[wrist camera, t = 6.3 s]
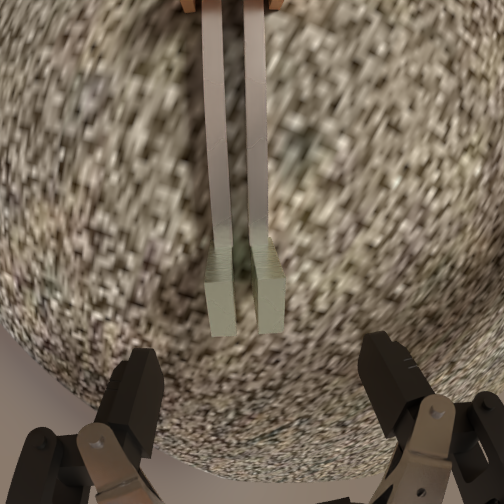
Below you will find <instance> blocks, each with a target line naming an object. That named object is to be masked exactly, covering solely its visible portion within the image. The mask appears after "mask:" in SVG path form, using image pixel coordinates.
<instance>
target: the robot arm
mask: <svg viewBox="0 0 504 504" xmlns="http://www.w3.org/2000/svg"><path fill="white" fill-rule="evenodd" d="M358 373H359V376H360V379H361V381H362V383H363V386H364V388H365V390H366V393H367V395H368V397H369V399H370V402H371V404H372V406H373V409H374V411H375V414H376V416H377V418H378V421H379V423H380V426H381V428H382V430H383V433H384V435H385V438H386V439H387V438H391V437H394V436H396V438H397V440H398V442H397V443H396V446H395V448H394V451H393V454H392V456H391V459H390V462H389V464H388V467H387V469H386V471H385V474H384V476H383V478H382V481H381V483H380V485H379V486H378V488H377V490H376V491H375V493H374V494H373V496H372V498H371V500H370V502H369V504H442V502H443V498H444V495H445V492H446V488H447V484H448V481H449V477H450V473H451V470H452V472H453V475H454V477H455V480H456V483H457V485H458V488H459V491H460V494H461V497H462V500H463V502H464V504H504V405H503V403H502V402H501V400H500V399H499V397H498V396H497V395H495V394H494V393H492V392H488V391H483V392H480V393H478V394H477V395H476V396H475V398H474V399H473V401H472V402H464V403H453V402H452V401H451V400H450V399H449V398H447V397H446V396H443V395H440V394H435V393H434V391H433V389H432V388H431V386H430V384H429V383H428V381H427V380H426V378H425V376H424V375H423V373H422V372H421V370H420V369H419V367H417V364H416V362H415V361H414V359H412V356H411V355H410V353H409V352H408V350H407V349H406V348H405V347H404V346H402V345H401V344H400V343H398V342H397V341H395V342H392V341H391V340H390V338H389V336H388V335H387V333H386V332H385V331H379V332H373V333H367V334H365V335H364V338H363V343H362V347H361V351H360V355H359V359H358ZM106 389H107V390H105V393H104V396H103V398H102V401H101V404H100V406H99V409H98V412H97V415H96V418H95V420H94V422H93V423H91V424H88V425H86V426H84V427H83V428H82V429H81V430H80V431H79V433H78V434H75V435H64V436H56V435H55V434H54V433H53V431H52V430H50V429H49V428H46V427H38V428H36V429H34V430H32V431H31V432H30V433H29V434H28V436H27V438H26V440H25V443H24V446H23V448H22V451H21V454H20V457H19V460H18V463H17V466H16V469H15V472H14V475H13V478H12V482H11V485H10V489H9V492H8V496H7V500H6V504H88V499H89V493H90V487H91V486H93V485H95V487H96V490H97V492H98V494H96V496H95V497H96V500H97V503H98V504H165V503H164V501H163V500H162V499H161V497H160V496H159V494H158V493H157V492H156V490H155V489H154V487H153V486H152V484H151V483H150V481H149V480H148V478H147V477H146V475H145V474H144V472H143V471H142V469H141V468H140V461H141V458H150V459H151V454H152V449H153V443H154V438H155V432H156V427H157V422H158V417H159V412H160V407H161V402H162V397H163V392H164V377H163V374H162V371H161V368H160V365H159V362H158V359H157V356H156V353H155V351H154V349H153V348H134V349H133V350H132V353H131V355H130V358H129V361H121V362H120V364H119V365H118V366H117V367H116V368H115V369H114V370H113V373H112V375H111V378H110V382H109V383H108V385H107V388H106ZM479 440H480V442H481V444H482V447H483V449H484V451H485V453H486V455H487V457H488V461H489V464H488V462H487V460H486V458H485V456H484V454H483V451H482V449H481V447H480V445H479V443H478V441H479ZM317 504H363V503H351V502H350V499H349V497H346V498H341V499H337V500H332V501H328V502H322V503H317Z"/></svg>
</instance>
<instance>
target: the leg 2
mask: <svg viewBox="0 0 504 504" xmlns="http://www.w3.org/2000/svg"><path fill="white" fill-rule="evenodd" d="M243 43H244V86H245V127H246V166H247V203H248V238H249V244H250V249H251V284H252V291H253V298H254V306H255V313H256V320H257V327H258V334H271V333H283V331H284V310H285V285H286V277H285V275H284V272H283V269H282V266H281V263H280V261H279V258H278V255H277V253H276V250H275V247H274V244H273V242H272V239H271V237H268V154H267V100H266V61H265V30H264V4H263V0H243Z"/></svg>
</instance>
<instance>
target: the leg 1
mask: <svg viewBox="0 0 504 504" xmlns="http://www.w3.org/2000/svg"><path fill="white" fill-rule="evenodd" d="M202 52H203V82H204V105H205V125H206V142H207V158H208V173H209V186H210V199H211V211H212V223H213V234H214V240H211V241H210V247H209V253H208V259H207V266H206V272H205V279H204V288H205V295H206V302H207V309H208V316H209V323H210V329H211V336H212V337H224V336H237V331H236V307H235V283H234V270H233V256H232V247H233V232H232V216H231V200H230V184H229V166H228V148H227V129H226V108H225V85H224V59H223V30H222V0H202Z"/></svg>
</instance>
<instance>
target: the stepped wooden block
mask: <svg viewBox="0 0 504 504" xmlns="http://www.w3.org/2000/svg"><path fill="white" fill-rule="evenodd" d="M268 1H269V9H274V10H280V8H281V6H282V4H283V2H284V0H268ZM180 2H181V5H182V7H183V10H184V12H185V13H190V12H196V0H180Z"/></svg>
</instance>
